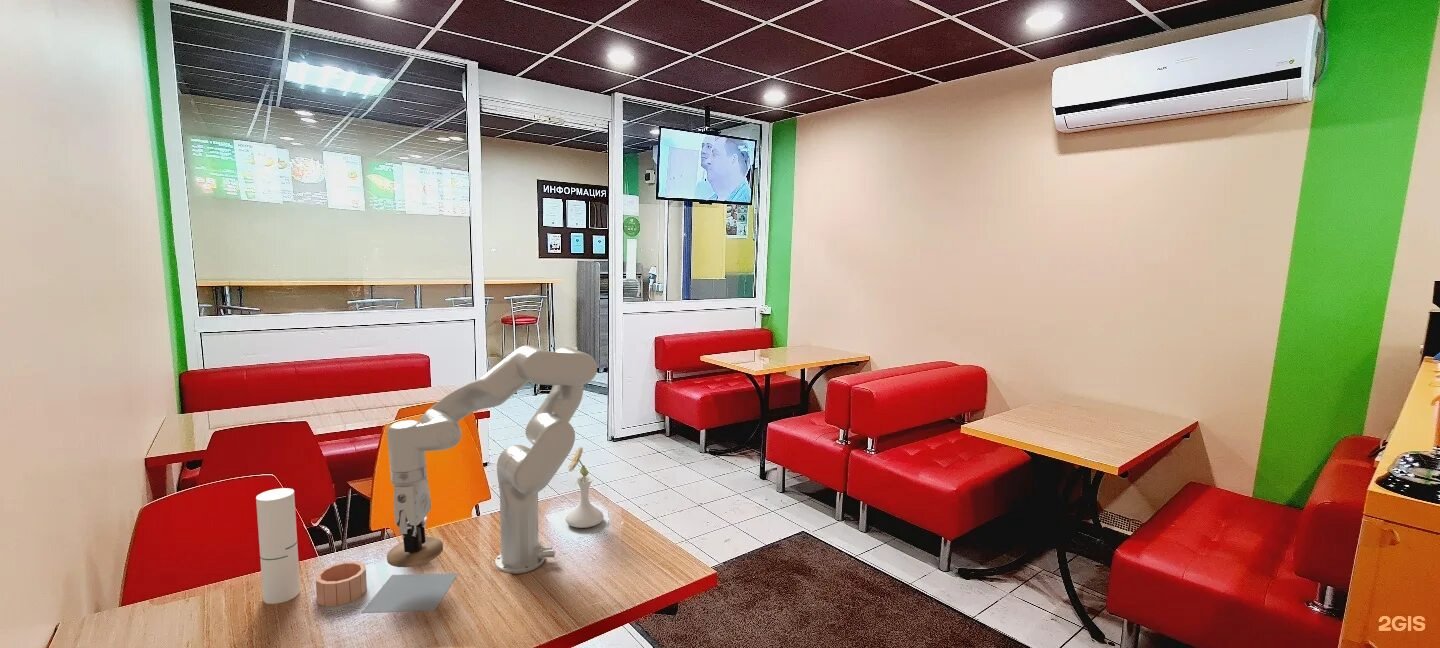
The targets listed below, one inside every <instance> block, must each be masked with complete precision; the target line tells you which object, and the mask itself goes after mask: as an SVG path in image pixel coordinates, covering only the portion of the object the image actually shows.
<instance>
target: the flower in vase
mask: <svg viewBox="0 0 1440 648" xmlns="http://www.w3.org/2000/svg"><path fill="white" fill-rule="evenodd" d="M583 449H584V448H583V447H582V446H579V447H578V449H575V451H574V455H573V457H571V459H570V461H571V462H570V464H568V466H567V468H569V469H568V471H569V472H572V471H573V470H575V468H576V467H577V465H578V464H579V463H580V465H581V468H580V469H579V470H580V471H579V472H580V474H581V475H582V476H580V477H578V478H576V479H575V481H576V482H577V484H578V486H579V489H580V501H579V504H577V505H576V506H575V507H573V509H571V510H570V511H569V512H568V513H566V516H565V522H566V523H567V524H568V525H569V526H571V527H573V528H581V529H583V528H590V527H594V526H597V525H598V524H600V523H602V521H603V520H604V516H605V515H604V514H603V512H602V510H600V509H599V508H598V507H596V506H595V505H593V504H592V503H591V502H590V499H589V494H590V493H589V491H590V487H591V483H592V482H593V481H594V478H593V477H591V476H588V474H589V470H588V469H587V468H586V465H584V464H583V463H582V461H581V460H580V459H581V457H582V455H583V451H584V450H583Z"/></svg>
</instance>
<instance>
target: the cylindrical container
mask: <svg viewBox="0 0 1440 648" xmlns="http://www.w3.org/2000/svg"><path fill="white" fill-rule="evenodd" d="M255 500H256V501H255V502H256V503H255V504H256V515H257V516H256V517H257V528H258V529H257V530H258V544H259V557H260V571H261V572H260V574H261V585H262V587H261V588H262V599H263V600H262V601H263V603H265V604H267V605H276V604H281V603H282V604H283V603H286V602H289V601H290V600H292V599H293V600H294V598H296V597H297V596H298V595H299V594H300V593H301V581H300V565H299V564H300V563H299V550H298V548H299V547H298V534H297V516H296V515H297V514H296V502H295V501H296V500H295V490H294V489H293V488H288V487H287V488H286V487H284V488H283V487H280V488H274V489H270V490H266V491H263V492H261V493H259V494H257V495H256V497H255Z"/></svg>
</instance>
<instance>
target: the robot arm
mask: <svg viewBox="0 0 1440 648" xmlns="http://www.w3.org/2000/svg"><path fill="white" fill-rule="evenodd" d="M597 372H598V364H597V362H596V360H595V358H594V357H593V356H592V355H590V354H589V353H586V352H585V351H584V352H583V351H581V350H578V349H576V348H573V347H569V346H568V347H567V346H564V347H559V348H558V349H556V350H555V351H548V350H544V349H541V348H539V347H536V346H533V345H522V346H520V347H518V348H516V349H515V350H513V352H511V353H509V354H508V355H507V356H506V357H504V358H503V359H501V361H499V362H498V363H496V364H495V366H493V367H492V368H491V369H489V370H488V371H486V372H485V373H484V374H483V375H482V376H480V377H478V378H477V379H476V380H473V381H471V382H468V383H467V384H465V385H463V386H461V387H459V388H457V389H456V390H454V391H452V392H450V393H449V394H447V395H446V396H445V395H444V397H442V398H441V399H440V400H438V401H437V402H436V403H434V404H433V405H432V406H431V407H430V408H429V409H427V410H426V411H425V412H424V413H423V414H422V416H421V417H420V419H419V420H413V419H407V420H400V421H397V422H394V423H392V424H391V425H389V426H388V427H387V430H386V437H387V439H386V440H387V447H388V461H389V469H390V470H389V472H390V481H391V485H393V515H394V523H395V526H396V527H398V534H399V535H401V536H402V539H403V542H404V551H405V552H418V551H419V537H418V535H416V527H420V528H421V539H422V544H424V543H425V537H426V528H425V529H424V527H423V526H424V525H425V521H424V518H425V517H427V516H428V515H429V513H430V512H431V510H432V499H431V494H430V493H431V492H430V484H429V481H428V469H427V458H426V457H427V456H426V452H436V451H446V450H450V449H453V448H454V447H456V446H457V445H458V444H459V442H460V441H461V439H462V435H463V434H462V433H463V432H462V428H461V426H460V425H459V422H461V420H464V418H466V417H467V416H469V415H470V414H472V413H475V412H477V411H480V410H484V409H490V408H495V407H498V406H501V405H503V404H504V403H505V402H507V400H509V399H510V398H511V397H512V396H513V395H514V394H516V393H517V392H519V391H520V390H521V389H522V388H523V387H525V386H526V385H527V384H529V383H532V384H536V385H543V386H552V387H551V390H550V392H549V393H548V395H547V397H546V398H545V399H544V401H543V402H542V404H541V405H540V407H538V409H537V411H536V412H535V413H534V415H533V416H532V417H531V419H530V420H529V422H528V423H527V425H526V427H525V436H526V439H527V440H528V442H529V443H530V444H532V447H531V448H529V447H527V446H525V445H522V444H514V445H510V446H507V447H506V448H504V449H503V450H502V451H501V453H500V455H499V456H498V458H497V463H496V474H497V475H496V476H497V482H498V491H499V519H500V521H499V522H500V523H499V524H500V529H499V530H500V533H499V534H500V553H499V554H498V555H497V557H496V558H495V559H494V567H495V568H496V569H497V570H499V571H500V572H503V573H508V574H510V575H516V574H518V575H519V574H525V573H529V572H532V571H534V570H536V569H537V568H540V566H542V564H543V563H544V562H545V560H546V559H545V558H555V557H556V549H553V546H550V545H548V546H544V545H542V540H539V493H540V492H541V491H542V490H543V489H545V487H546V486H548V485H549V483H550V482H551V480H552V479H553V477H554V476H555V475H556V473H557V472H558V470H559V469H560V468H561V466H562V465H563V463H564V462H565V461H566V459H567V457H568V456H569V455H570V453H571V452H572V450H573V448H574V445H575V441H576V432H575V429H574V426H572V424H571V423H570V421H571V419H572V418H573V417H574V415H575V412H577V410H578V408H579V406H580V404H581V401H582V399H583V395H584V385H586V384H589V383H591V382H592V380H594V379H595V377H596V375H597ZM407 522H409V523H407ZM407 527H412V530H411V529H407Z"/></svg>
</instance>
